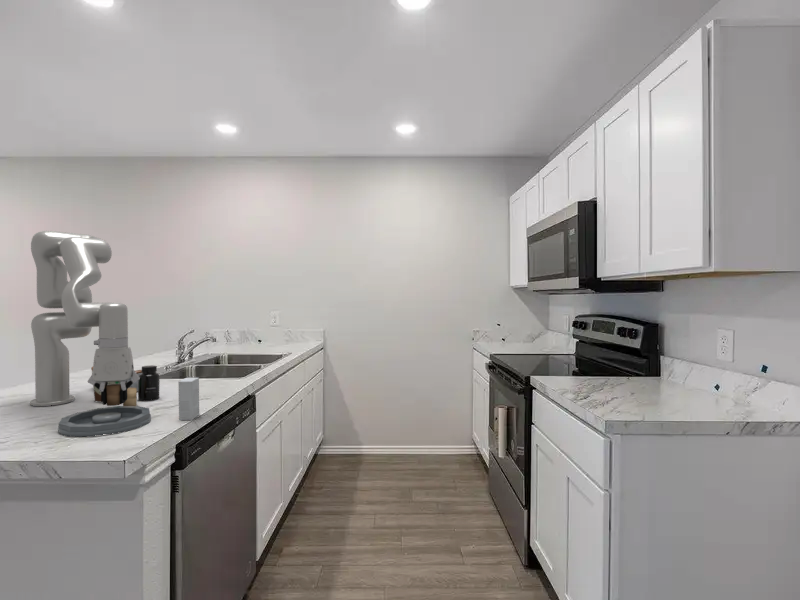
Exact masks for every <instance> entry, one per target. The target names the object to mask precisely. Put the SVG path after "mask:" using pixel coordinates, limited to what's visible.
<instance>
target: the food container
mask: <svg viewBox="0 0 800 600" xmlns="http://www.w3.org/2000/svg"><path fill="white" fill-rule="evenodd" d="M92 374H93V373H92V372H91V375H92ZM100 383H101V382H100ZM109 384H121V383H120V381H115V382H108V385H109ZM92 386H93V388H92V389H93V399H94V400H93V401H94V402H95V401H97V402H96V403H103V402H102V401H101V392H100V391H99V389H98V388H96V387H95V386H94V385H92Z"/></svg>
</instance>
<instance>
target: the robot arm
mask: <svg viewBox="0 0 800 600" xmlns="http://www.w3.org/2000/svg"><path fill="white" fill-rule="evenodd" d="M30 251H31V255H32V258H33V261H34V265H35V267H36V301H37V304H38V306H40V307H41V308H42V309H43V308H44V309H63V311H59V312H58V311H56V312H55V311H54V312H51V311H49V312H43V313H39V314H37V315H35V316H33V317H32V319H31V321H30V322H31V324H30V325H31V326H30V328H31V333H32V336H33V337H32V338H33V343H34V359H35V360H34V362H35V363H34V369H35V371H34V374H35V378H34V379H35V380H34V381H35V382H34V383H35V384H34V385H35V391H34V392H35V393H34V394H35V398H33V399H31V400H30V401H29V405H30V406H31V405H33V407H50V406H51V405H52V406H57V405H58V406H59V405H64V404H67V403H71V402H74V401H75V400H76V396H75V395H71V394H70V350H69V348H68V347H67V345H65V343H63V342H62V340H65V339H67V340H68V339H76V338H77V339H78V338H85V337H86V336H89V334H90V333H91V331H92V328H95V327H96V328H97V327H98V339H95V340H93V345H95V346H97V347H98V348H96V349H95V351H94V357H93V362H92V363H93V365H92V367H93V374H92V373H91V376H90V377H89V378H88V380H87V383H88V384H89V385H92V386H93V385H94V386H95V387H96V388H98V389H99V391H100V392H101V401H102V402H101V403H102V405H103V406H104V405H107V387H106V386H107V385H108V382H115V381H120V383H121V391H120V403H121V404H120V405H123V403H124V402H126V400H127V389H128V388H129V387H130V386H131V385H132V384H133V383H135V382H136V381H138V380H139V379H140V377H139V376H138V375H137V373H136V372H135V371H136V370H134V359H133V353H132V349H131V347H130V346H129V332H128V331H129V327H128V325H129V322H128V319H129V317H128V316H129V314H128V312H129V311H128V306H127V304H125V303H114V302H93V295H92V291H91V289H90V287H92V286H94V285H96V284H97V283H98V282H99V281H101V278H102V272H101V270H100V268H99V267H100V266H99V264H106V263H109V262H110V260H111V259H112V255H113V254H112V253H113V252H112V248H111V245H110V244H109V243H108V242H107V240H105V239H103V238H99V237H97V236H94V235H90V234H82V233H73V232H67V231H66V232H64V231H56V230H55V231H53V230H42V231H38V232H36V233H35V234H34V235H33V236H32V238H31V242H30ZM59 257H60V258H59ZM61 257H62V260H63V261H62V260H61ZM68 277H69V279H70V280H69V281H68ZM132 377H133V379H132V380H130V381H129V382H128V379H130V378H132ZM100 382H101V383H100ZM52 406H51V407H52Z"/></svg>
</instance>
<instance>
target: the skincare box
mask: <svg viewBox="0 0 800 600" xmlns="http://www.w3.org/2000/svg"><path fill="white" fill-rule="evenodd" d="M199 415H200V377H185V378H182V379H180V380H179V381H178V420H179V421H193V420H194V419H195V418H197V417H198V416H199Z"/></svg>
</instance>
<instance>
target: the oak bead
mask: <svg viewBox="0 0 800 600" xmlns="http://www.w3.org/2000/svg"><path fill="white" fill-rule="evenodd" d="M137 399H138V392H137V388H128V389H127V400H126V402H124V403H123V404H122V406H138V403H137Z"/></svg>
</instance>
